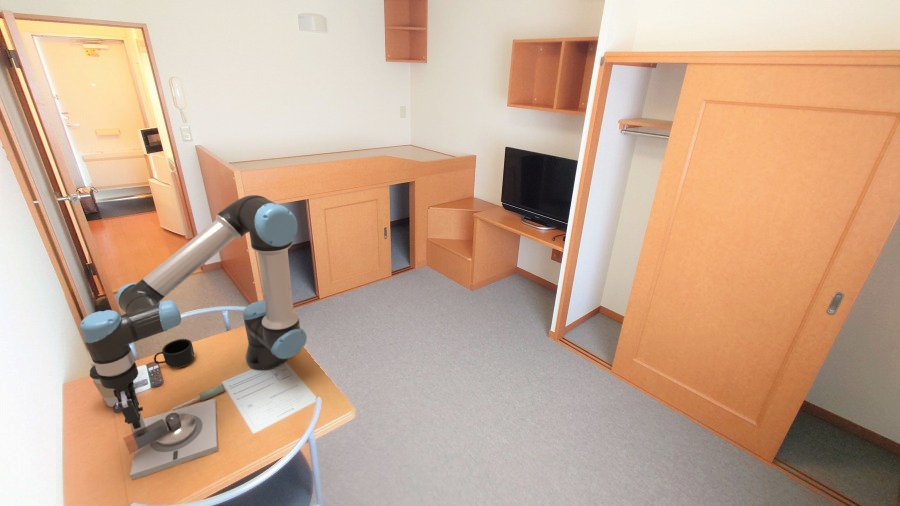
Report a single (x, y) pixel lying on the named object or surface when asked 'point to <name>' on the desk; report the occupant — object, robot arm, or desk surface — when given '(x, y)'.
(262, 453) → the desk surface
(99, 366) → the robot arm
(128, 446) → the dial
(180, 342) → the mug
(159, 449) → the plate
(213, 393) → the screwdriver
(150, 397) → the desk surface
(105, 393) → the coffee cup
